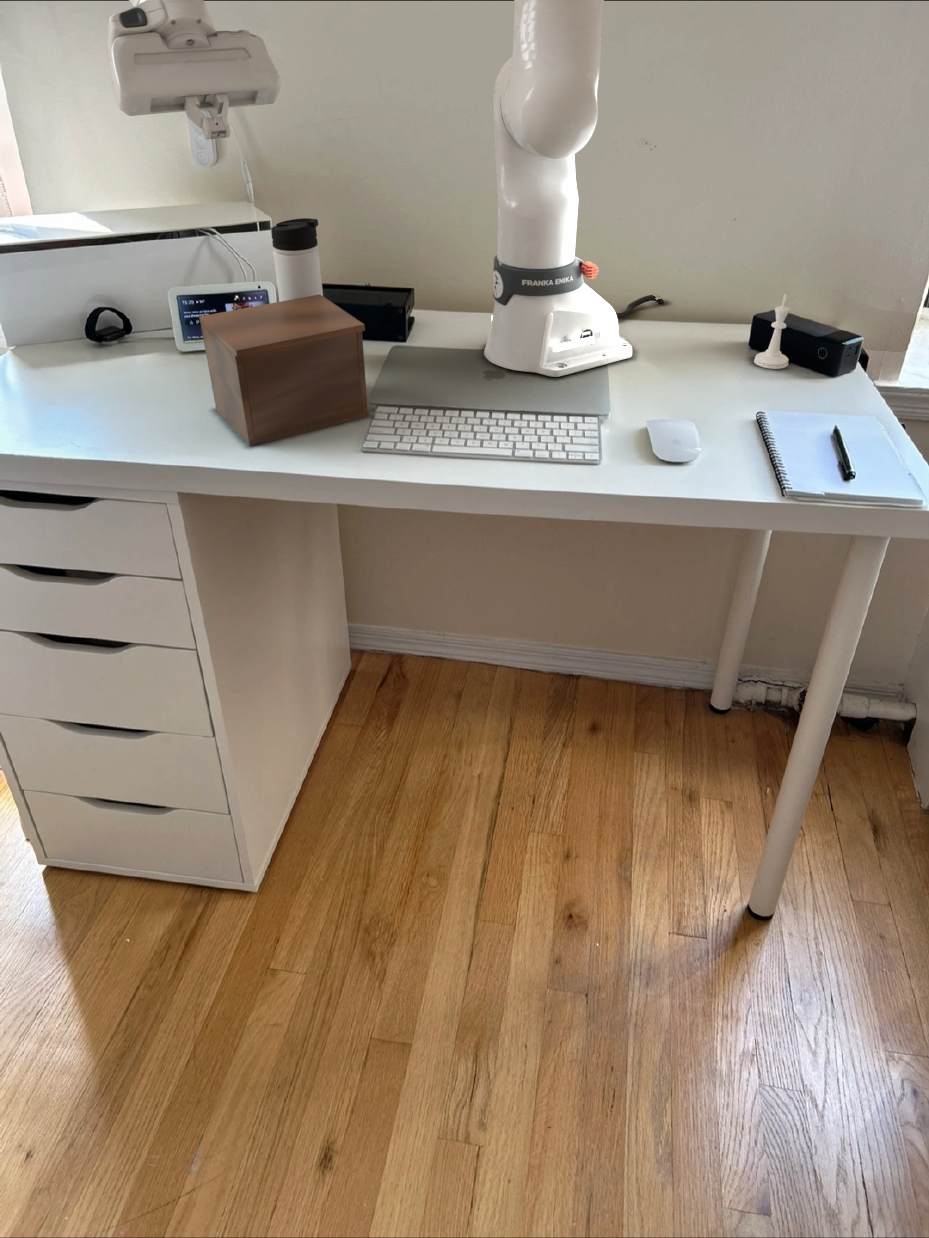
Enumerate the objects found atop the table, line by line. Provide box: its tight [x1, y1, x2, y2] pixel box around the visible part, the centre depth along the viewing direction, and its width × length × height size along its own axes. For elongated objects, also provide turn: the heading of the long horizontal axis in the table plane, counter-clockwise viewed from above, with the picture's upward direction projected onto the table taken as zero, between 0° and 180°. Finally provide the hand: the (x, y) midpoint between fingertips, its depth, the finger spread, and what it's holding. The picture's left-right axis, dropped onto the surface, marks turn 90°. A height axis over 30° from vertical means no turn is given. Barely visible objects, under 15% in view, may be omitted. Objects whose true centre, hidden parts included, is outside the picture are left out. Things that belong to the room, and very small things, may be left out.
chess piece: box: [753, 294, 790, 370], centre depth 131 cm, size 5×5×10 cm
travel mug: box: [270, 217, 324, 302], centre depth 129 cm, size 6×7×20 cm
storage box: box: [200, 323, 369, 447], centre depth 117 cm, size 13×17×12 cm
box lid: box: [199, 294, 366, 357], centre depth 113 cm, size 13×17×1 cm
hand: (218, 135), depth 110 cm, fingers closed
